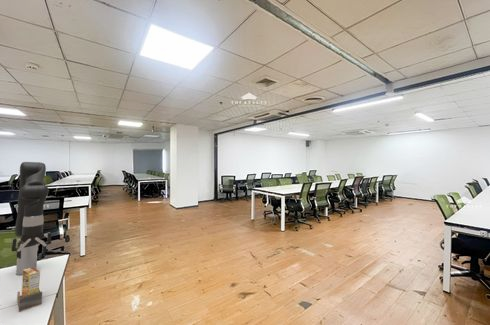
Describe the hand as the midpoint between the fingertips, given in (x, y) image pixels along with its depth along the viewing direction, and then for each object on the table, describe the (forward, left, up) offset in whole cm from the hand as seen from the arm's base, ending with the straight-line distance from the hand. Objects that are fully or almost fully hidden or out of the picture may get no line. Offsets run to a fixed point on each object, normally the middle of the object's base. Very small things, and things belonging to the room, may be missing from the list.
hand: (31, 255), depth 107 cm
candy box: (0, 0, -23) cm, 23 cm away
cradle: (-2, 0, -24) cm, 24 cm away
